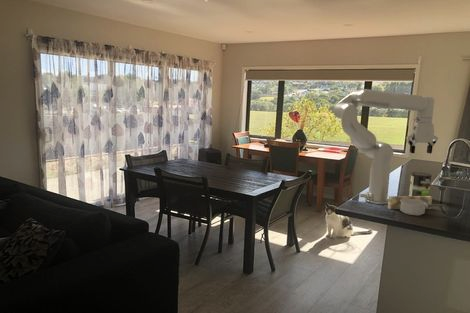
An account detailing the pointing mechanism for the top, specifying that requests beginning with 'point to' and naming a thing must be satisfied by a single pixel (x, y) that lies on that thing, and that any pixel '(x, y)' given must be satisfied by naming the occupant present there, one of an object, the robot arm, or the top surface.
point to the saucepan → (415, 206)
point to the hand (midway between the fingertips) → (420, 153)
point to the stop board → (395, 200)
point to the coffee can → (420, 184)
